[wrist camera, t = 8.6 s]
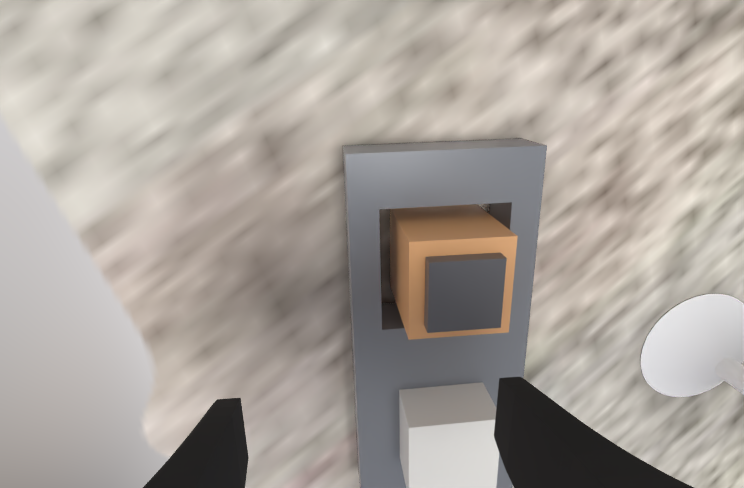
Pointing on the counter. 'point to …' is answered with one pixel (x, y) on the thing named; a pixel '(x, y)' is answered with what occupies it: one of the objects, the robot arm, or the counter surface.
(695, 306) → the champagne flute
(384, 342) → the socket strip
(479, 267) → the orange plug
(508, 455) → the robot arm
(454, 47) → the counter surface
